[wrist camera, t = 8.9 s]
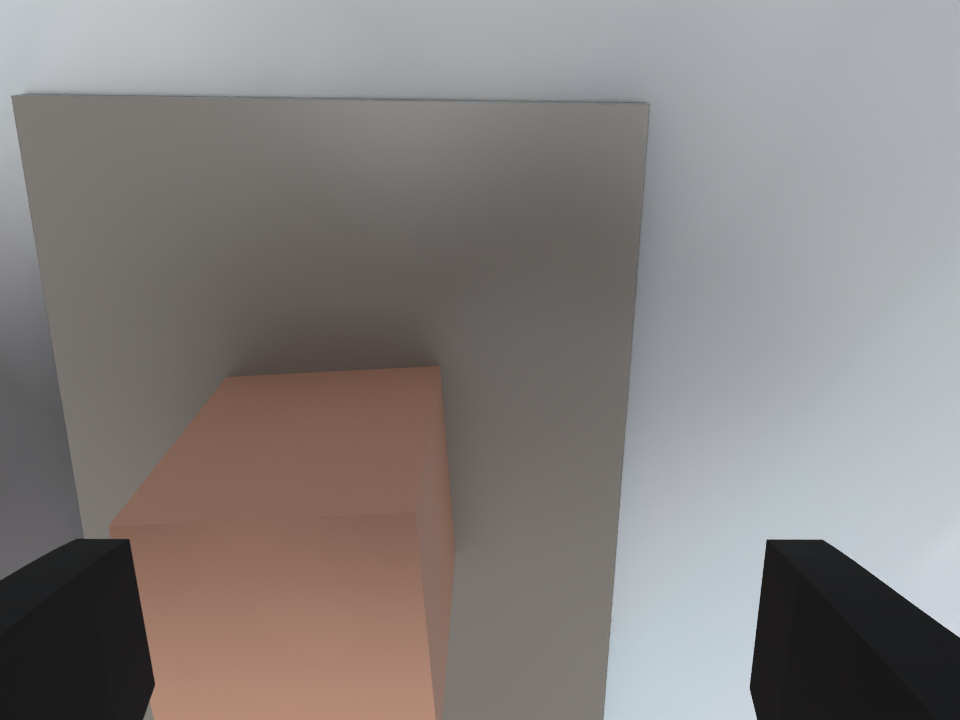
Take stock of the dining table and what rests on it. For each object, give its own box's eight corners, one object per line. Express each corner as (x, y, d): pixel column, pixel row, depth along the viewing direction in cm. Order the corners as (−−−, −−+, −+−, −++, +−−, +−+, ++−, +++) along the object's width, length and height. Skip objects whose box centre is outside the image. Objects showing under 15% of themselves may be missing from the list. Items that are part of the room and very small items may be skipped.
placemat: (645, 102, 17) (649, 104, 16) (597, 755, 22) (599, 770, 22) (24, 93, 17) (11, 95, 17) (129, 744, 23) (120, 759, 22)
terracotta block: (440, 365, 18) (415, 512, 13) (455, 552, 20) (439, 756, 14) (226, 377, 18) (107, 526, 13) (257, 560, 20) (164, 766, 14)
